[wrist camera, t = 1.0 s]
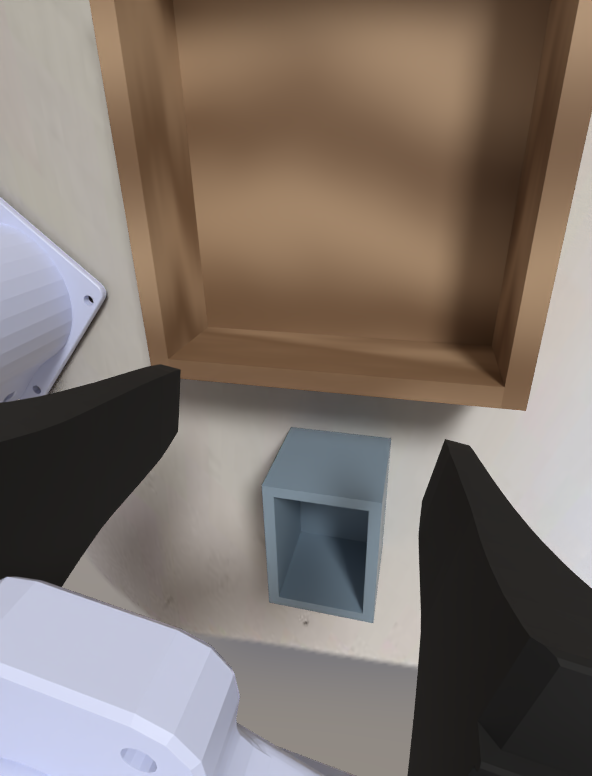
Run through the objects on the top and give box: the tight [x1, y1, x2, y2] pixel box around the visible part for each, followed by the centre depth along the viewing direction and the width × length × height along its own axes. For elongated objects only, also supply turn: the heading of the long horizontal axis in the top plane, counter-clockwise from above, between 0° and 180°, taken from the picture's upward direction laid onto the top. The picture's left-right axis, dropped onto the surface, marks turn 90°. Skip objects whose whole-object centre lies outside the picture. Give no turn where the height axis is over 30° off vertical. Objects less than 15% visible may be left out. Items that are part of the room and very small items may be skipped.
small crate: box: [262, 427, 391, 623], centre depth 23 cm, size 7×5×5 cm
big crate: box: [89, 0, 592, 411], centre depth 16 cm, size 16×14×4 cm
